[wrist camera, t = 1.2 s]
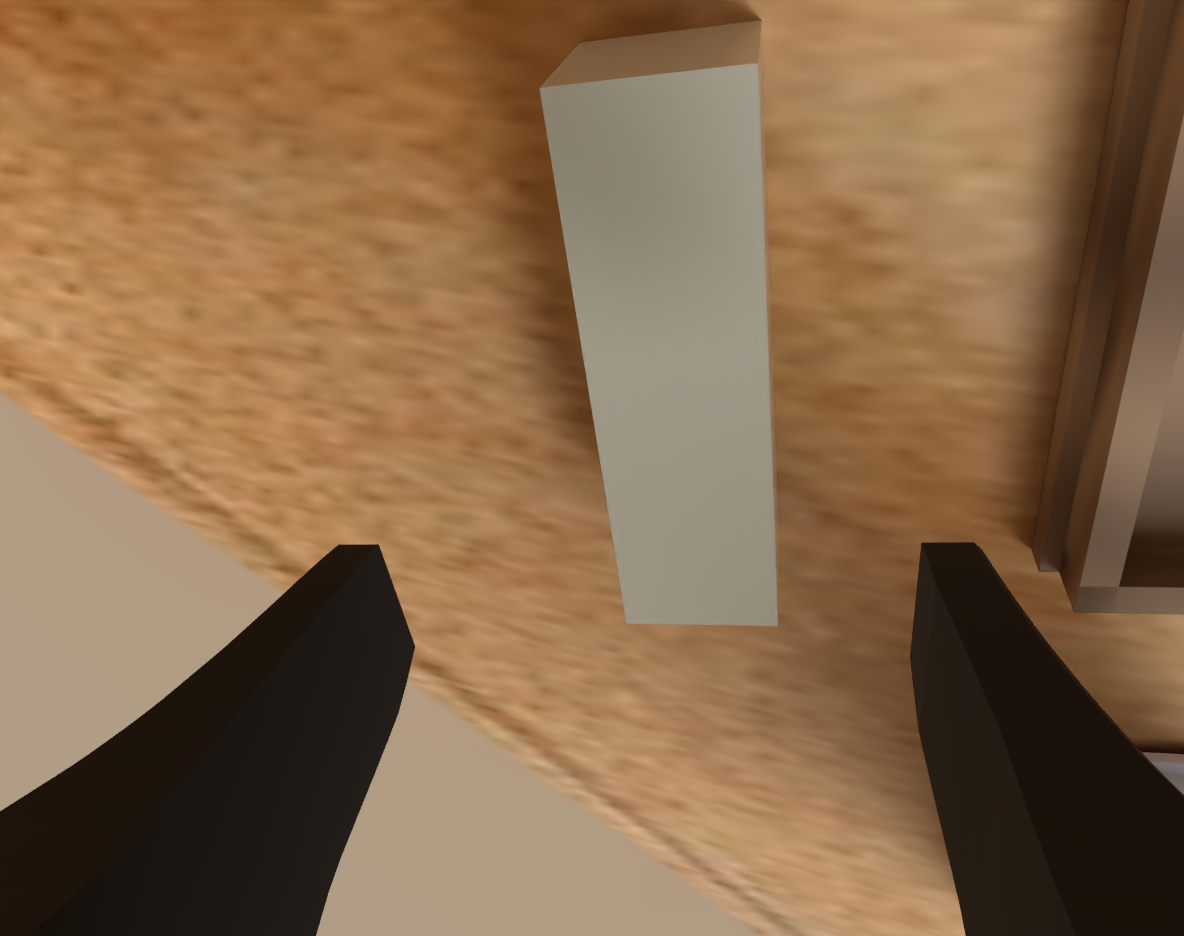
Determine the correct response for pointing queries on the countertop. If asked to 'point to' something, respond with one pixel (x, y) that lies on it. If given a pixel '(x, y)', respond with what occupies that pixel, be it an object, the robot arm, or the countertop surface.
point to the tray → (1127, 350)
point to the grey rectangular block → (675, 311)
